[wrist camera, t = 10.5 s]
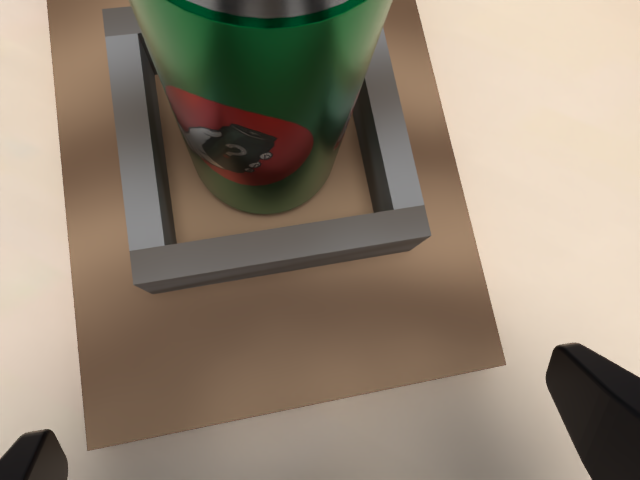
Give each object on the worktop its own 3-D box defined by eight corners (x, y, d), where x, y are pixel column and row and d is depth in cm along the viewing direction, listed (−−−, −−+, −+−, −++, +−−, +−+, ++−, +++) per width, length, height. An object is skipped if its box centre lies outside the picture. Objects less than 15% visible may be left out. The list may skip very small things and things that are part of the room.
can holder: (491, 363, 19) (544, 367, 15) (99, 443, 17) (54, 469, 13) (390, -52, 22) (413, -129, 19) (55, -24, 20) (9, -104, 17)
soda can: (354, 192, 18) (504, -80, 7) (220, 238, 18) (129, 19, 6) (304, 71, 19) (362, -358, 8) (174, 110, 18) (13, -305, 7)
